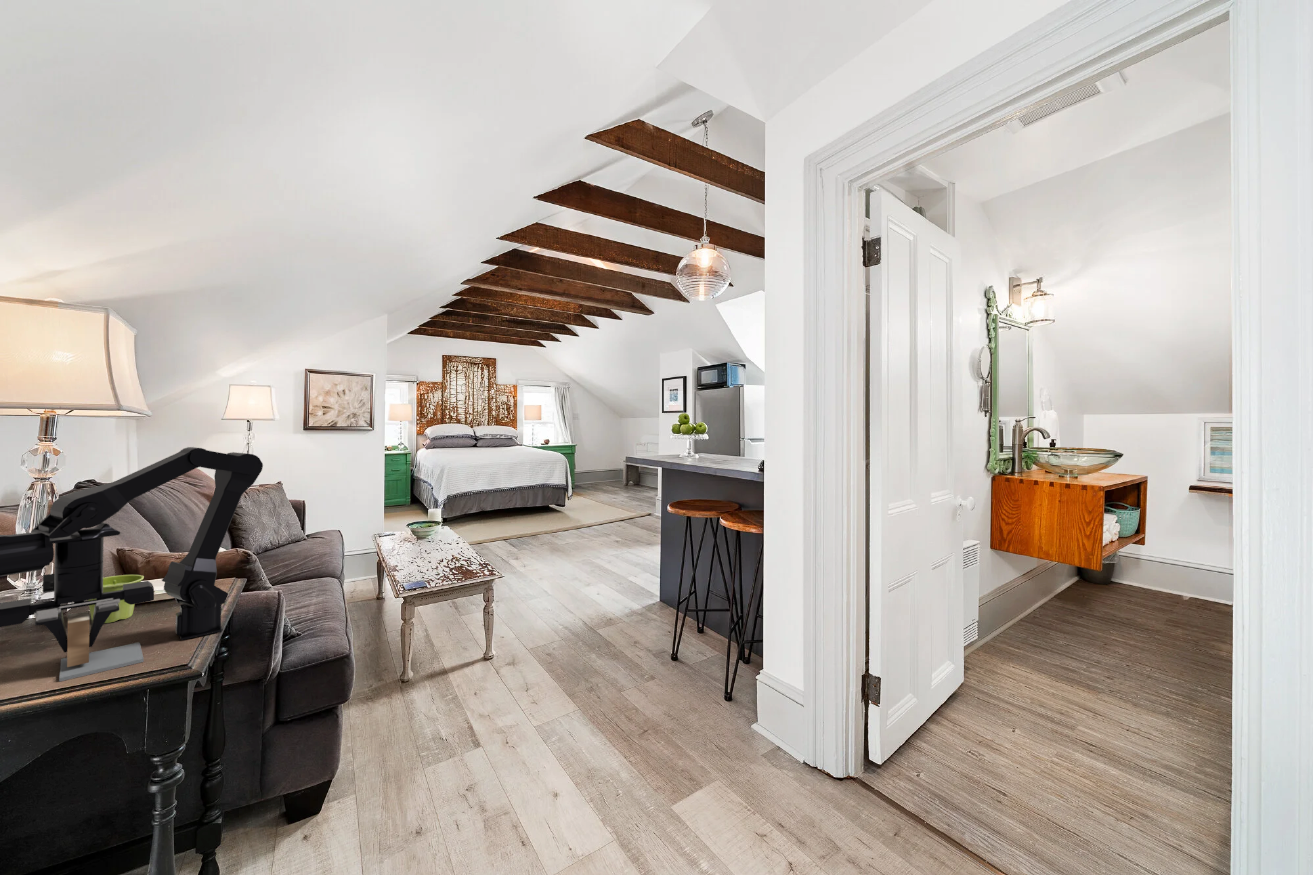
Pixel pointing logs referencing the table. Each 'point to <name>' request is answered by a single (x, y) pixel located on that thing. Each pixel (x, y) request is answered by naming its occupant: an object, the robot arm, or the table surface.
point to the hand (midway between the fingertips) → (78, 649)
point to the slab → (78, 639)
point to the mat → (103, 661)
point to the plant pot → (124, 608)
